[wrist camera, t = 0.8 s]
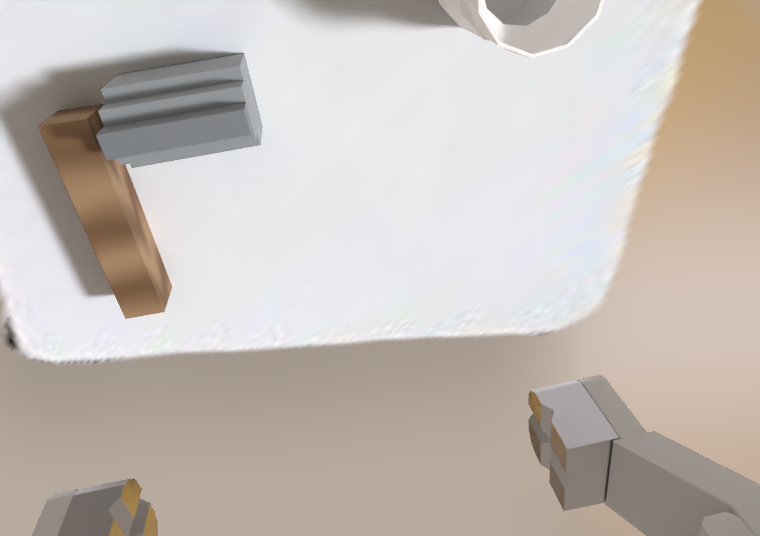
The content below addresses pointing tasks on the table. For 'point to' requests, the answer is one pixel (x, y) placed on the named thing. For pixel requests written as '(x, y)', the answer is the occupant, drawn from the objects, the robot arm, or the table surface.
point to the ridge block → (179, 112)
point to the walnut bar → (108, 211)
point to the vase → (525, 22)
